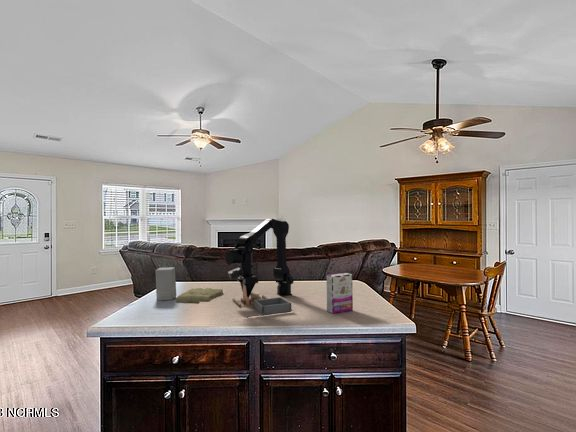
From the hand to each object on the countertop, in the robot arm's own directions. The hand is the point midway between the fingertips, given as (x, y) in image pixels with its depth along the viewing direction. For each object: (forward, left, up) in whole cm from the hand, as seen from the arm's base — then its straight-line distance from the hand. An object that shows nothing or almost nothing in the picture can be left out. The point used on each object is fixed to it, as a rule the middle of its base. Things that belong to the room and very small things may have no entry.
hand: (246, 295), depth 154 cm
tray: (-8, +14, -4) cm, 16 cm away
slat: (0, 0, -4) cm, 4 cm away
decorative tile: (+17, -23, -5) cm, 29 cm away
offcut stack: (-4, 0, -4) cm, 6 cm away
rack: (-3, 0, -4) cm, 5 cm away
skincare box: (+34, -27, -5) cm, 44 cm away
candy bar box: (-35, +27, -5) cm, 44 cm away
